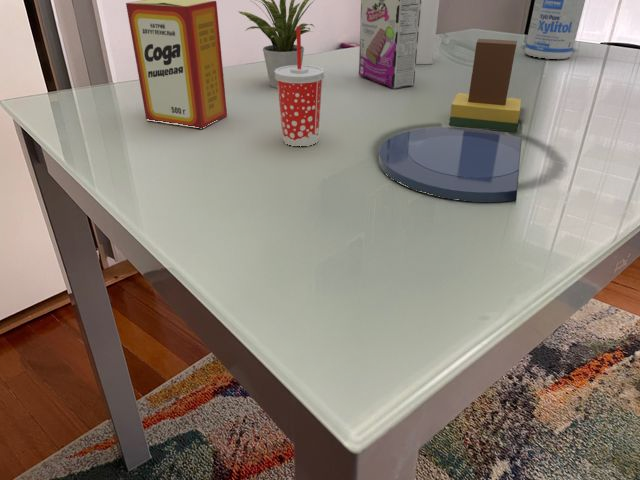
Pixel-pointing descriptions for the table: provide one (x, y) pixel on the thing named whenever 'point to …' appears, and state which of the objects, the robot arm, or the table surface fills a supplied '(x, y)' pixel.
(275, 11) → the house plant
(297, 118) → the beverage cup
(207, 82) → the baking soda box
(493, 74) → the sponge
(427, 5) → the milk
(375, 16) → the candy bar box
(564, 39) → the supplement tub
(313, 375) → the table surface
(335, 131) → the table surface
